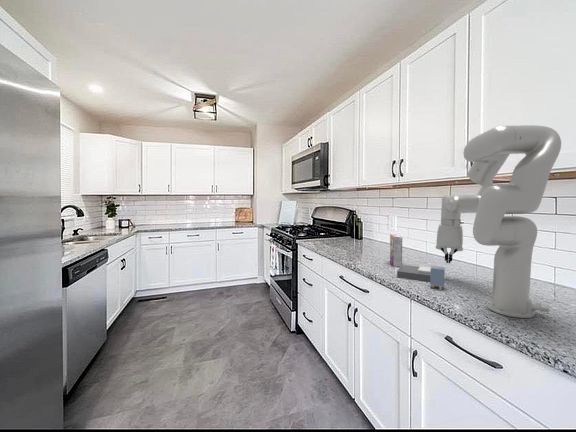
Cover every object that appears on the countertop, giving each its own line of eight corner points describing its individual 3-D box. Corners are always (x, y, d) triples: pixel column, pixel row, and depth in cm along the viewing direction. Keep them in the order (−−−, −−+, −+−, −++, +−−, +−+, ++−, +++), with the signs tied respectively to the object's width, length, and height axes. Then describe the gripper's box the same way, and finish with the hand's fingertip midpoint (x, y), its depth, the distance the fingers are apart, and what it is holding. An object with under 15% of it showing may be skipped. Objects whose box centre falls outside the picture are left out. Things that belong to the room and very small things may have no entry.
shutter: (436, 269, 131) (436, 265, 131) (435, 273, 124) (435, 268, 124) (419, 268, 135) (419, 263, 134) (418, 271, 128) (418, 266, 128)
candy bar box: (389, 262, 160) (389, 234, 159) (398, 262, 159) (398, 234, 158) (392, 267, 149) (393, 237, 148) (402, 267, 148) (402, 237, 147)
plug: (444, 287, 116) (444, 267, 115) (443, 290, 112) (444, 269, 111) (430, 285, 118) (431, 265, 118) (430, 288, 115) (430, 268, 114)
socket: (437, 274, 134) (437, 268, 133) (435, 282, 122) (435, 276, 122) (401, 270, 142) (402, 264, 142) (397, 277, 130) (397, 271, 130)
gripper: (469, 222, 123) (467, 262, 125) (432, 220, 130) (430, 258, 132) (470, 224, 116) (468, 266, 118) (431, 222, 124) (429, 262, 126)
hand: (448, 262), depth 125 cm, fingers closed
